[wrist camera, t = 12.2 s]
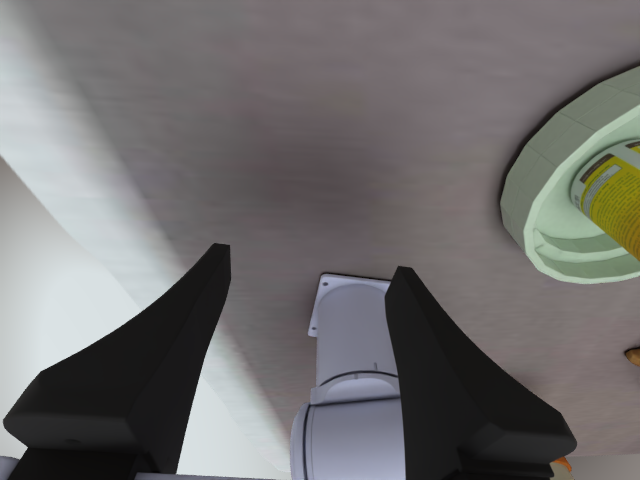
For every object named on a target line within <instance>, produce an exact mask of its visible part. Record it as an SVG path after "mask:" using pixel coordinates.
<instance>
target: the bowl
mask: <svg viewBox="0 0 640 480" xmlns="http://www.w3.org/2000/svg"><path fill="white" fill-rule="evenodd" d="M636 139H640V66H638V67H636V68H633V69H631V70H629V71H626V72H624V73H622V74H619V75H617V76H615V77H612V78H610V79H608V80H605V81H603V82H601V83H598V84H597V85H596V86H594V87H593V88H591V89H590V90H588V91H587V92H585V93H584V94H583V95H581V96H580V97H578V98H577V99H575V100H574V101H572V102H571V103H569V104H568V105H567V106H565V107H564V108H562V109H561V110H559V111H558V112H557V113H556V114H555V115H554V116H553V117H552V118H551V119H550V120H549V121H548V122H547V123H546V124H545V125H544V126H543V127H542V128H541V129H540V130H539V131H538V132H537V133H536V134H535V135H534V136H533V138H532V139H531V140H530V141H529V142H528V143H527V144H526V145H525V147H524V148H523V150H522V152H521V153H520V155H519V157H518V158H517V160H516V162H515V163H514V165H513V167H512V168H511V170H510V172H509V173H508V175H507V178H506V182H505V186H504V190H503V194H502V198H501V201H500V206H501V212H502V219H503V225H504V227H505V228H506V230H507V231H508V232H509V234H510V235H511V236H512V237H513V239H514V240H515V241H516V243H517V244H518V245H519V247H520V248H521V249H522V250H523V252H524V253H525V254H526V256H527V257H528V258H529V260H530V261H531V262H532V263H533V265H534V266H535V267H536V269H537V270H538V271H540V272H542V273H544V274H546V275H548V276H550V277H553V278H555V279H557V280H559V281H565V282H572V283H580V284H595V283H606V282H617V281H623V280H626V279H630V278H634V277H638V276H640V261H638V260H637V259H636V258H635V257H634V256H632V255H631V254H630V253H629V252H628V251H626V250H625V249H624V248H623V247H622V246H620V245H619V244H618V243H617V242H616V241H615V240H613V239H612V238H611V237H610V236H609V235H607V234H606V233H605V232H604V231H603V230H602V229H600V228H599V227H598V226H597V225H596V224H594V223H593V222H592V221H591V220H590V219H588V218H587V217H586V216H585V215H584V214H583V213H581V212H580V211H579V210H578V209H577V208H576V207H575V206H574V204H573V202H572V200H571V188H572V184H573V182H574V179H575V178H576V176H577V174H578V173H579V172H580V170H581V169H582V168H583V167H584V166H585V165H586V164H587V163H588V162H589V161H590V160H591V159H593V158H594V157H595V156H597V155H598V154H599V153H601V152H603V151H604V150H606V149H608V148H610V147H612V146H614V145H617V144H619V143H622V142H626V141H630V140H636Z"/></svg>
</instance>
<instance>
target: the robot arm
mask: <svg viewBox="0 0 640 480" xmlns="http://www.w3.org/2000/svg"><path fill="white" fill-rule="evenodd" d="M230 281H231V261H230V245H226V244H218V243H214V244H213V245H212V246H211V247H210V248H209V249H208V250H207V252H206V253H205V254H204V255H203V256H202V257H201V258H200V259H199V261H198V262H197V263H196V264H195V265H194V266H193V267H192V268H191V269H190V270H189V271H188V272H187V273H186V274H185V275H184V276H183V277H182V278H181V279H180V280H179V281H178V282H177V283H175V284H174V285H173V286H172V287H171V288H170V289H169V290H168V291H167V292H165V293H164V294H163V295H162V296H161V297H160V298H158V299H157V300H156V301H155V302H154V303H152V304H151V305H150V306H148V307H147V308H146V309H145V310H143V311H142V312H141V313H139V314H138V315H136V316H135V317H133V318H132V319H131V320H129V321H128V322H126V323H125V324H124V325H122V326H121V327H119V328H118V329H116V330H115V331H113V332H111V333H110V334H108V335H106V336H105V337H103V338H102V339H100V340H98V341H96V342H95V343H93V344H91V345H90V346H88V347H87V348H85V349H83V350H81V351H79V352H78V353H76V354H74V355H72V356H70V357H68V358H66V359H64V360H62V361H60V362H58V363H57V364H55V365H53V366H51V367H49V368H47V369H45V370H43V371H41V372H40V373H39V374H38V375H37V376H36V378H35V379H34V380H33V381H32V382H31V383H30V385H29V386H28V387H27V388H26V389H25V391H24V392H23V394H22V395H21V396H20V398H19V399H18V400H17V402H16V403H15V404H14V406H13V407H12V408H11V410H10V411H9V412H8V414H7V415H6V417H5V418H4V419H3V424H4V428H5V429H6V430H7V431H8V432H9V433H10V434H11V435H13V436H14V437H15V438H17V439H18V440H19V441H21V442H22V443H23V444H24V445H26V446H27V447H28V448H27V450H26V451H25V453H24V455H23V456H22V458H21V459H20V460H19V459H16V458H13V457H6V456H0V480H273V479H254V478H253V479H252V478H235V477H215V476H196V475H178V474H176V472H177V468H178V463H179V458H180V454H181V450H182V445H183V441H184V436H185V432H186V428H187V424H188V420H189V415H190V411H191V407H192V403H193V399H194V396H195V392H196V388H197V384H198V380H199V376H200V373H201V369H202V365H203V362H204V358H205V355H206V352H207V349H208V346H209V344H210V341H211V339H212V336H213V333H214V331H215V328H216V325H217V323H218V320H219V317H220V315H221V312H222V309H223V307H224V304H225V301H226V298H227V294H228V290H229V286H230ZM324 282H327V283H324ZM308 335H309V336H313V337H317V368H316V387H315V388H311V402H308V403H304V404H303V405H302V406H301V408H300V409H299V411H298V413H297V414H296V416H295V418H294V421H293V425H292V431H291V440H290V467H291V477H292V480H550V478H552V477H554V472H553V470H552V468H551V466H550V464H549V463H551V462H553V461H555V460H557V459H559V458H562V457H564V456H566V455H568V454H569V453H571V452H573V451H574V450H575V448H576V446H577V441H576V439H575V437H574V435H573V434H572V432H571V430H570V428H569V427H568V425H567V423H566V421H565V419H564V418H563V416H562V414H561V413H560V412H559V411H557V410H556V409H554V408H553V407H552V406H550V405H549V404H547V403H546V402H544V401H543V400H542V399H540V398H539V397H537V396H536V395H535V394H533V393H532V392H530V391H529V390H528V389H526V388H525V387H524V386H523V385H521V384H520V383H519V382H517V381H516V380H515V379H514V378H512V377H511V376H510V375H509V374H507V373H506V372H505V371H504V370H503V369H501V368H500V367H499V366H498V365H497V364H496V363H495V362H493V361H492V360H491V359H490V358H489V357H488V356H487V355H486V354H485V353H483V352H482V351H481V350H480V349H479V348H478V347H477V346H476V345H475V344H474V343H473V342H472V341H471V340H470V339H469V338H468V337H467V336H466V335H465V334H464V333H463V331H462V330H461V329H460V328H459V327H458V326H457V325H456V324H455V323H454V321H453V320H452V319H451V318H450V317H449V316H448V314H447V313H446V312H445V311H444V310H443V308H442V307H441V306H440V305H439V303H438V302H437V301H436V299H435V298H434V297H433V296H432V294H431V293H430V292H429V290H428V289H427V288H426V286H425V285H424V284H423V282H422V281H421V279H420V278H419V277H418V275H417V274H416V273H415V271H414V270H413V269H412V268H410V267H402V266H398V267H397V270H396V272H395V274H394V276H393V278H392V281H391V282H390V281H382V280H374V279H366V278H357V277H349V276H341V275H333V274H323V275H322V276H321V278H320V283H319V287H318V291H317V295H316V300H315V304H314V308H313V312H312V316H311V321H310V325H309V329H308Z"/></svg>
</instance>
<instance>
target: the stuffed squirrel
mask: <svg viewBox="0 0 640 480" xmlns="http://www.w3.org/2000/svg"><path fill="white" fill-rule="evenodd" d="M626 356H627V358H628V360H629V361H630V362H631V363H633V364H634V365H637V366H639V367H640V349H634V350H630V351H628V352H627V353H626Z"/></svg>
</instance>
